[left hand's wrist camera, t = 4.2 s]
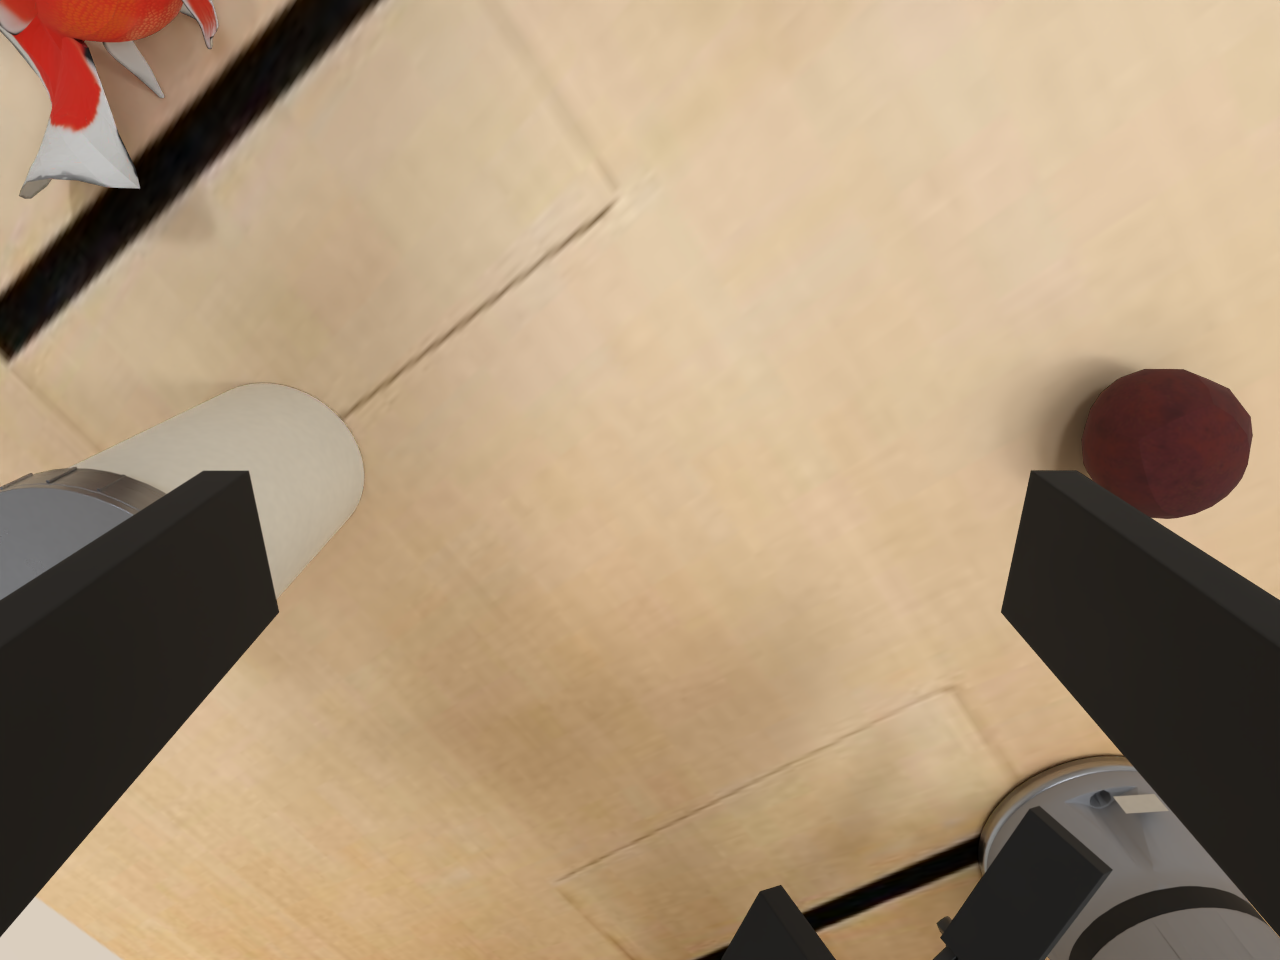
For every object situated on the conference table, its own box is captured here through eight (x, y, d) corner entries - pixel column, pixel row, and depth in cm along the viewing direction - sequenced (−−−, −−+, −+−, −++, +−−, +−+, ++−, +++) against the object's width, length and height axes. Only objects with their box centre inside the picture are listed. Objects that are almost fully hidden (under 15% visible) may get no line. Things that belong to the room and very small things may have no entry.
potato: (1083, 507, 43) (1164, 565, 36) (1032, 401, 40) (1108, 441, 34) (1208, 441, 41) (1315, 488, 35) (1162, 326, 39) (1268, 354, 32)
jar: (398, 462, 42) (268, 607, 27) (303, 570, 44) (138, 755, 30) (253, 346, 39) (24, 437, 25) (161, 467, 42) (-95, 615, 27)
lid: (302, 586, 29) (279, 613, 27) (164, 741, 31) (135, 775, 30) (54, 409, 26) (10, 426, 24) (-72, 596, 29) (-121, 623, 27)
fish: (339, 85, 30) (58, 18, 22) (188, 260, 39) (-52, 257, 31) (239, -158, 30) (-83, -317, 22) (110, 74, 39) (-153, 22, 31)
